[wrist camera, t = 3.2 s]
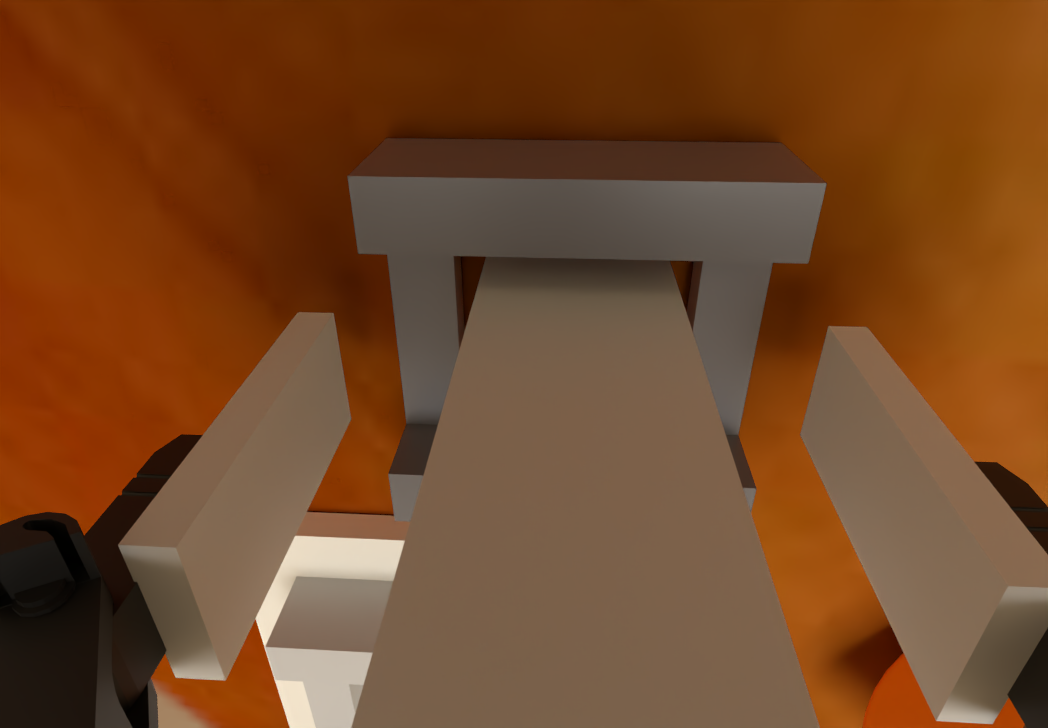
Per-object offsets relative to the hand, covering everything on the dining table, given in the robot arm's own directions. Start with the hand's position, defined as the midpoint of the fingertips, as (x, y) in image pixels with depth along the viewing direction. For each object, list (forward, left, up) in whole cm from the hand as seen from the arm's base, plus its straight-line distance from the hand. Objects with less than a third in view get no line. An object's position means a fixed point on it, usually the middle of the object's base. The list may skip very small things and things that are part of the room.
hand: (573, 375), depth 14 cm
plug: (0, 0, -3) cm, 3 cm away
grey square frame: (0, 0, -3) cm, 3 cm away
